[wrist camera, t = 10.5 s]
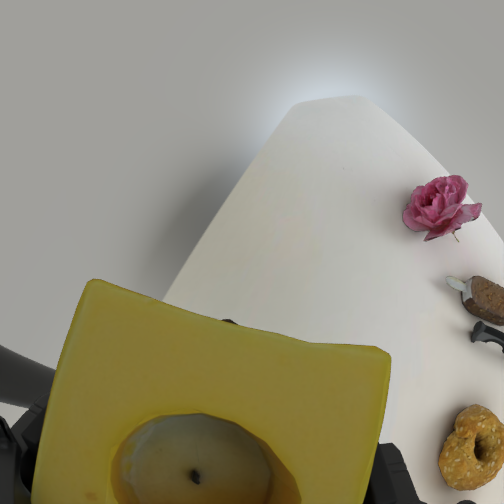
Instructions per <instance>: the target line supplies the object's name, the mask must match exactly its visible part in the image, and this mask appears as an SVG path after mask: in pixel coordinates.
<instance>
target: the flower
mask: <svg viewBox="0 0 504 504" xmlns="http://www.w3.org/2000/svg"><path fill="white" fill-rule="evenodd" d="M467 188H468V183H467V182H466V181H465V180H464V179H463V178H462V177H461V176H458V175H452V176H448V177H445V176H444V177H439V178H435V179H434V180H432V181H431V182H430V183H427V184H426V185H425V186H417V188H416V189H415V190H414V191H413V193H412V195H411V203H410V204H407V207H406V210H404V212H403V221H404V223H405V224H406V225H407V226H408V227H409V228H410V229H412V230H414V231H426V230H429V231H430V232H429V233H428V234H427V236H426V238H425V239H424V241H429V240H432V239H434V238H437V237H440V236H443V235H446V234H448V233H450V232H452V234H454V232H455V231H456V230H458V229H460V228H461V225H462V224H463V223H466V222H469V221H473V220H475V219H477V218H478V217H479V216H480V212H481V207H482V204H481V203H477V204H470V205H469V204H464V205H462V204H460V203H461V202H462V201H463V200H464V198H465V196H466V192H467ZM454 236H455V235H454ZM455 238H456V237H455ZM456 239H457V238H456ZM457 241H458V239H457ZM458 242H459V241H458Z"/></svg>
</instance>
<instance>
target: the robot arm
mask: <svg viewBox="0 0 504 504" xmlns="http://www.w3.org/2000/svg"><path fill="white" fill-rule="evenodd" d="M49 396H50V392H48V393H46V394H44V395H42V396H40V397H39V398H38V399H37V400H36V401H35V402H34V405H32V406H31V407H30V408H29V410H28V411H26V412H25V413H24V414H23V415H22V416H21V418H20V419H19V420H18V421H17V422H16V423H15V424H14V425H13V426H12V428H11V429H10V428H9V426H8V424H7V422H6V420H5V419H4V418H2V417H1V416H0V504H31V492H32V485H33V478H34V472H35V465H36V459H37V453H38V448H39V442H40V437H41V432H42V428H43V423H44V418H45V413H46V409H47V405H48V400H49ZM363 504H427V503H425V502H422V501H420V500H419V498H418V496H417V494H416V491H415V488H414V485H413V483H412V480H411V478H410V475H409V472H408V470H407V467H406V465H405V463H404V459H403V457H402V454H401V452H400V450H399V449H398V448H397V447H396V446H395V445H394V444H393V443H386V444H379V442H378V444H377V448H376V452H375V457H374V461H373V466H372V470H371V475H370V479H369V483H368V487H367V491H366V494H365V497H364V501H363ZM457 504H476V503H475V502H473V501H470V500H463V501H460V502H459V503H457Z"/></svg>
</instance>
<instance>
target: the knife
mask: <svg viewBox="0 0 504 504" xmlns="http://www.w3.org/2000/svg"><path fill="white" fill-rule="evenodd" d="M475 341H482V342H485V343H486V342H490V341H491V342H495V343H498V344H499V345H501V346H502V347H503V349H502V352H503V353H504V333H503V332H501V331H499V330H497V329H494V328H492V327H489V326H487V325H485V324H484V323H483V322H482V321H479V322H477V323H476V325H475V326H474V330H473V335H472V340H471V342H473V343H474V342H475Z"/></svg>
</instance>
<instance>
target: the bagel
mask: <svg viewBox="0 0 504 504" xmlns="http://www.w3.org/2000/svg"><path fill="white" fill-rule="evenodd" d="M453 427H454V431H453V432H452V433H451V434H450V435H449V436H448V438H447V440H446V441H445V442H444V446H443V450H442V452H441V454H440V457H439V462H438V465H439V468H440V471H441V473H442V476H443V477H444V479H445V481H446V482H447V484H448V486H450V487H452V488H454V489H457V490H459V491H463V490H475V489H477V488H479V487H481V486H483V485H485V484H486V483H488V482H490V481H491V480H492V479H494V478H495V477H496V475H497V473H498V471H499V470H500V469H501V468H502V464H503V463H504V425H503V423H501V422H500V421H499V419H498V418H497V416H496V415H495V414H493V413H492V412H491V411H490V410H489V409H487V408H484V407H483V406H480V405H477V404H473V405H471V406H469V407H467V408H466V409H464V410H463V411H462V412H461V413H459V414H458V416H457V417H456V419H455V424H454V426H453ZM474 446H475V449H474Z"/></svg>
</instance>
